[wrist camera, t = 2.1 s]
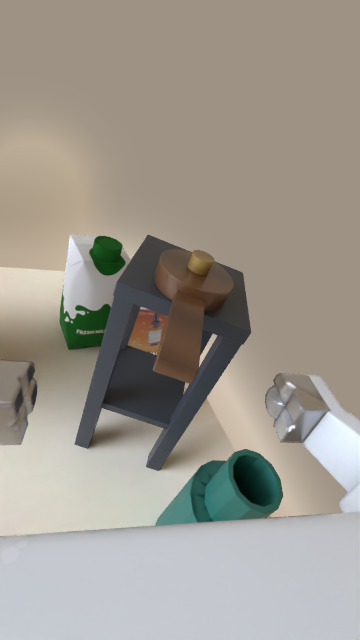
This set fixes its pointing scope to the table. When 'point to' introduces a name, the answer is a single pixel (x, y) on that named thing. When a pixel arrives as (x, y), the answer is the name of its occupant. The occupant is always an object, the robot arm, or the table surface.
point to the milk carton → (90, 288)
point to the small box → (148, 330)
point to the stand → (137, 366)
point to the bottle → (227, 492)
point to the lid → (187, 308)
